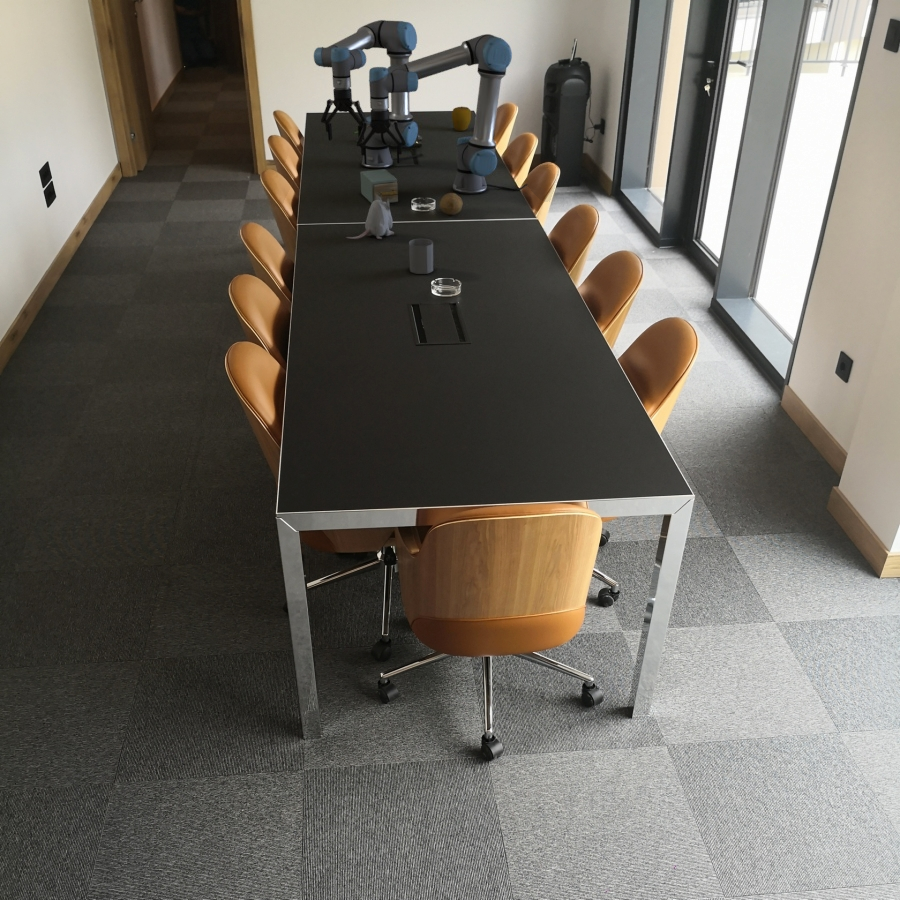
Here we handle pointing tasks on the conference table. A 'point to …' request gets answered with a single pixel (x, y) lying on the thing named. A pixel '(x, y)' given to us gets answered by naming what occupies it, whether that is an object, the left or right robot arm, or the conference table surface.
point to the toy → (378, 220)
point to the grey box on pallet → (374, 182)
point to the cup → (421, 256)
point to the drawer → (386, 191)
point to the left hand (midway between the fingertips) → (345, 140)
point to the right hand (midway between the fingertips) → (381, 162)
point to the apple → (461, 118)
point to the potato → (451, 204)
